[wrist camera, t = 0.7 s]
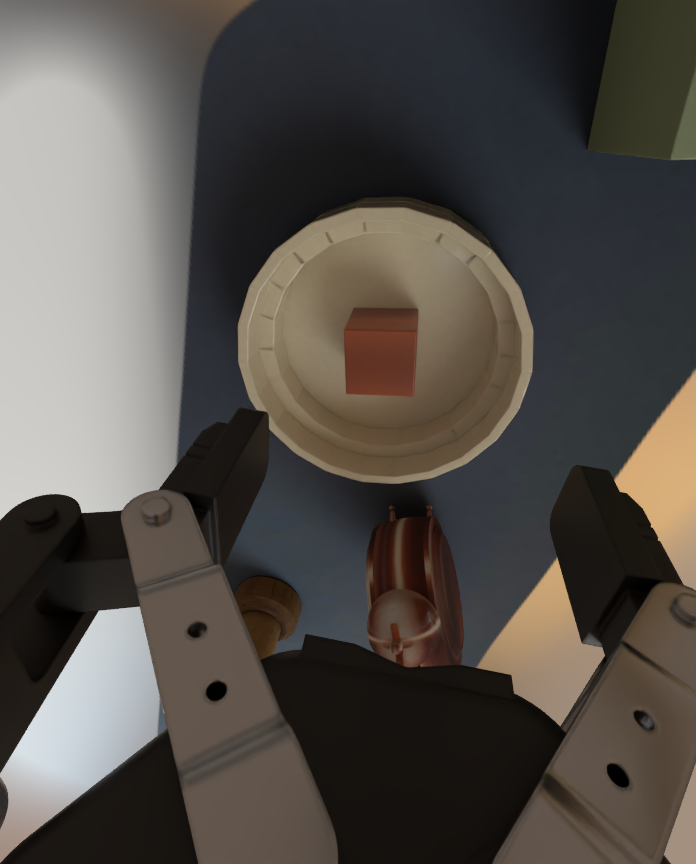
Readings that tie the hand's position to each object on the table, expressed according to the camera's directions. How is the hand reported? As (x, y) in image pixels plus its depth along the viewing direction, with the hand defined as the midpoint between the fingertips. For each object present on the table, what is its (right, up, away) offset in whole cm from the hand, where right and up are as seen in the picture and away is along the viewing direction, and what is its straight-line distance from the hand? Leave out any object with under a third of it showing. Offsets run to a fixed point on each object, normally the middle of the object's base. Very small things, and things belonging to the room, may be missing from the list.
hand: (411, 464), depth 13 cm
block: (+1, +7, +18) cm, 19 cm away
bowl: (+1, +7, +18) cm, 19 cm away
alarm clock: (+4, -7, +27) cm, 28 cm away
